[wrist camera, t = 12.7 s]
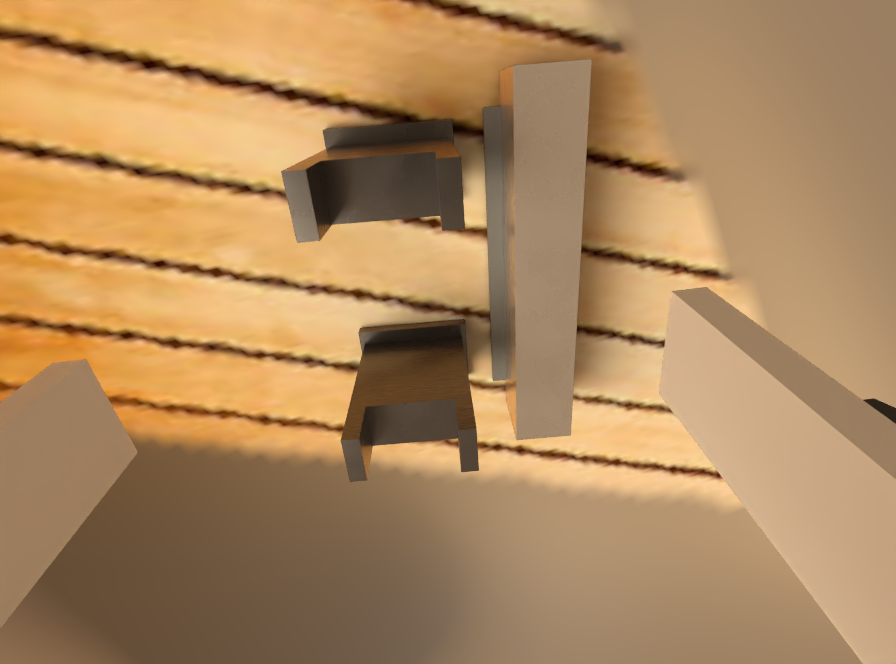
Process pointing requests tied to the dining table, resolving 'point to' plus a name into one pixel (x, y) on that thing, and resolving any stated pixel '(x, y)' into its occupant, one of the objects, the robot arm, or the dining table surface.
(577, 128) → the rail
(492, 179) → the plank
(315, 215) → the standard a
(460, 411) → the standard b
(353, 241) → the dining table surface
